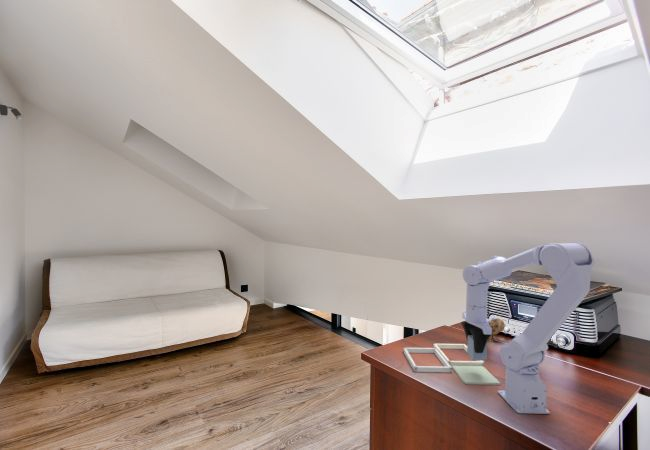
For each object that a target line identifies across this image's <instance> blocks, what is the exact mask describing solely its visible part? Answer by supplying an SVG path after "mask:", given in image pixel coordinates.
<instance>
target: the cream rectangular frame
mask: <svg viewBox="0 0 650 450" xmlns="http://www.w3.org/2000/svg"><path fill="white" fill-rule="evenodd" d="M432 346H433V347H432V348H436V349H437V350H438V351H439V352H440V354H441V355H442V356H443V357H444V359H445V360H446V361H447V362H448V363H449V365H450V366H451V367H452V366H483V367H484V368H485V360H450V359H449V357H447V355H446V354H445V353H444V352H443V350H442V349H445V350H447V349H448V350H449V349H450V350H464V352H465V353H467V345H466V343H433V345H432Z"/></svg>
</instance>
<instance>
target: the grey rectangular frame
mask: <svg viewBox="0 0 650 450" xmlns="http://www.w3.org/2000/svg"><path fill="white" fill-rule="evenodd" d="M402 352H403V353H404V355H405V358H406V359H407V361H408V363H409V365H410V366H411V368H412V370H413V371H414V373H448V374H449V373H453V369H452V367H451V366H450V365H449V363H448V362H447V361H446V360H445V359H444V357H443V356H442V355H441V354H440V352H439V351H438V350H437V349H436V348H433V347H403V348H402ZM410 353H411V354H434V355H435V356H436V358H437V359H438V360H439V361H440V362H441V364H442V365H443V366H436V365H433V366H431V365H430V366H429V365H426V366H425V365H420V366H419V365H416V363H415V361H414V360H413V358H412V356H411V354H410Z"/></svg>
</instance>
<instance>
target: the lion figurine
mask: <svg viewBox="0 0 650 450" xmlns="http://www.w3.org/2000/svg"><path fill="white" fill-rule="evenodd" d="M490 320H491V322H490V323H489V326H490V327H491V328H492V335H491V336H490V337H489V339H488V341H489V342H490V343H491V342H493V341H495V340H496V338H495V335H498V334H499V333H501V332H503V331H504V330H505V327H506V324H505V321H504V320H503V319H501V318H495V319H490Z"/></svg>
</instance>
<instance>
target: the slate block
mask: <svg viewBox="0 0 650 450" xmlns="http://www.w3.org/2000/svg"><path fill="white" fill-rule="evenodd" d="M466 346H467V352H466V353H467V354H466V355H467V356H468V357H469V358H470V359H472V360H471V361H475V360H482V361H488V360H487V359H488V358H487V357H488V341H487V342H486V345H485V348H484V351H483V353H476V352H475V350H474V341H473V336H472V335H468V343H467V345H466Z"/></svg>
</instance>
